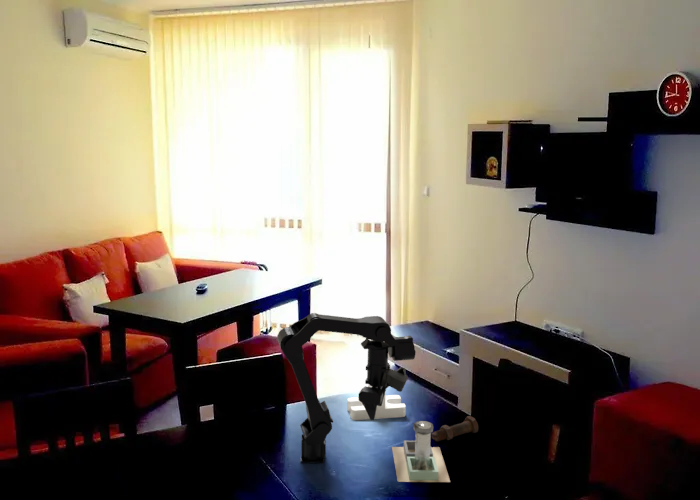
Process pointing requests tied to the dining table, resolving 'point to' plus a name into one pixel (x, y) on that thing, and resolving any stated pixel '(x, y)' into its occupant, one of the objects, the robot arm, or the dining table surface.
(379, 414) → the u-slot stand
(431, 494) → the dining table surface
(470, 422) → the bolt
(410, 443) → the holder
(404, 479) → the dock board
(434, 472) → the socket
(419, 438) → the silver tall tapered cylinder
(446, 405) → the dining table surface
